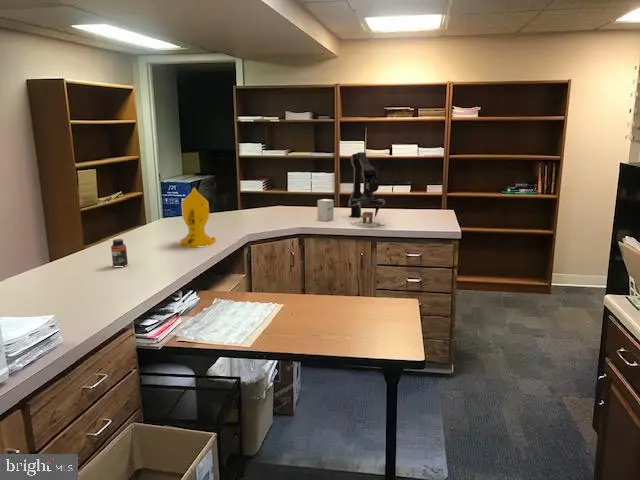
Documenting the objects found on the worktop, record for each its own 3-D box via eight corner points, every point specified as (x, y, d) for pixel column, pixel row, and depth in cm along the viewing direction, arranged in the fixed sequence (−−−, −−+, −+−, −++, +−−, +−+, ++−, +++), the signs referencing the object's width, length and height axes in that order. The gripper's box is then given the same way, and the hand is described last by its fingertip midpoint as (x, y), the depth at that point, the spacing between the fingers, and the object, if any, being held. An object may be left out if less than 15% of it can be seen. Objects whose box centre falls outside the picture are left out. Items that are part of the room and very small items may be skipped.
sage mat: (360, 221, 315) (360, 220, 314) (379, 223, 311) (379, 221, 311) (355, 225, 304) (355, 223, 303) (375, 226, 300) (375, 225, 300)
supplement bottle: (123, 263, 223) (120, 237, 221) (130, 265, 220) (128, 239, 217) (110, 266, 219) (107, 240, 216) (117, 268, 215) (115, 242, 213)
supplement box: (326, 221, 316) (326, 201, 313) (317, 220, 320) (317, 200, 317) (333, 219, 321) (333, 199, 319) (324, 218, 326) (324, 198, 323)
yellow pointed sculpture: (204, 237, 274) (202, 184, 268) (224, 245, 255) (222, 189, 248) (172, 241, 264) (168, 186, 258) (190, 250, 245) (187, 191, 239)
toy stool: (364, 221, 310) (364, 211, 309) (372, 222, 308) (372, 212, 307) (362, 223, 305) (362, 213, 304) (370, 223, 304) (370, 213, 303)
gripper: (349, 190, 298) (348, 217, 302) (381, 192, 292) (380, 219, 296) (354, 188, 308) (353, 214, 312) (385, 189, 302) (384, 216, 306)
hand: (367, 216), depth 306 cm, fingers open, 9 cm apart
